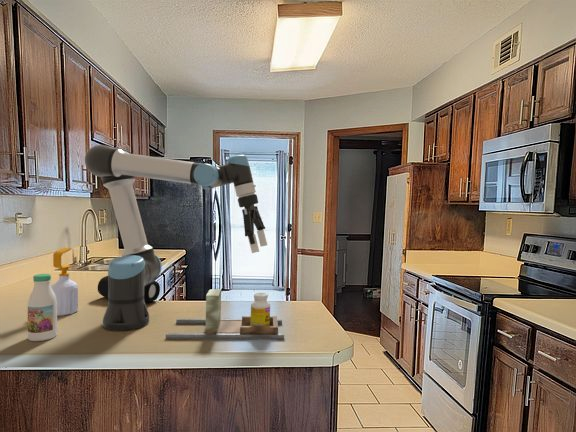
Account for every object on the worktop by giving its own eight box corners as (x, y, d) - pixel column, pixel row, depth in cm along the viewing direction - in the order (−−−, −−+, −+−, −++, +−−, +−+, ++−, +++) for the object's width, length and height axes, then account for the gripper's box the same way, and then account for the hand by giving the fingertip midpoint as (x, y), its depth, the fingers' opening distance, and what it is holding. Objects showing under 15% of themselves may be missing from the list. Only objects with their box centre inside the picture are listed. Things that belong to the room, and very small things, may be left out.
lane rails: (165, 339, 117) (165, 334, 117) (177, 322, 133) (177, 318, 133) (284, 339, 120) (284, 334, 120) (281, 323, 135) (282, 319, 135)
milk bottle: (37, 332, 120) (36, 272, 119) (61, 332, 120) (61, 272, 119) (22, 342, 112) (21, 277, 111) (48, 342, 113) (48, 277, 112)
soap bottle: (83, 310, 143) (83, 248, 141) (60, 317, 134) (59, 251, 133) (68, 307, 146) (67, 246, 145) (44, 313, 138) (44, 249, 137)
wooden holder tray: (203, 336, 120) (203, 296, 119) (208, 323, 131) (209, 288, 131) (277, 336, 122) (278, 297, 121) (276, 324, 133) (277, 288, 132)
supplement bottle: (266, 335, 123) (267, 297, 122) (247, 333, 124) (248, 296, 124) (271, 328, 130) (272, 292, 129) (253, 326, 131) (254, 291, 130)
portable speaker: (161, 300, 161) (161, 277, 160) (146, 306, 151) (146, 282, 151) (112, 294, 167) (112, 272, 167) (95, 300, 158) (95, 277, 157)
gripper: (247, 194, 128) (261, 253, 129) (263, 192, 153) (275, 241, 154) (227, 199, 129) (241, 257, 130) (246, 196, 154) (258, 245, 155)
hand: (260, 249), depth 142 cm, fingers open, 13 cm apart
